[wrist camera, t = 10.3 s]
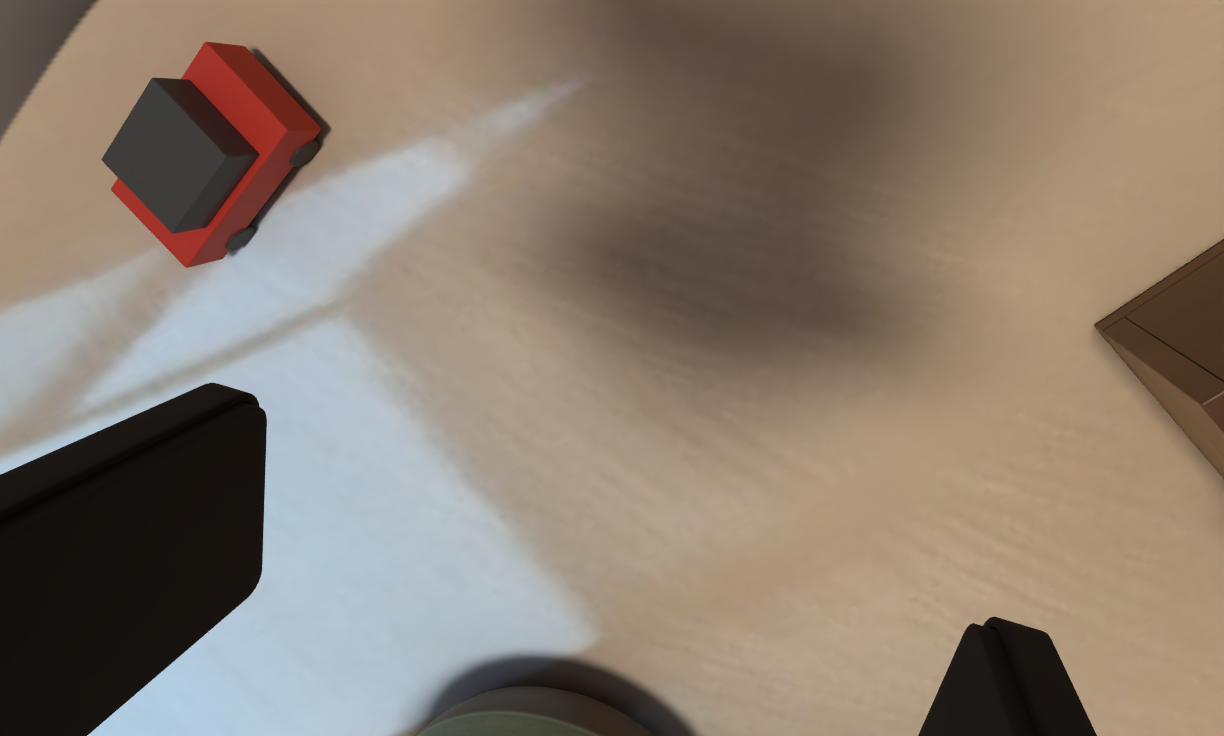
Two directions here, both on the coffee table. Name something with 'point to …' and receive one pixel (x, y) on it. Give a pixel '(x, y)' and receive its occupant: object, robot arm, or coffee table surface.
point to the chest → (1180, 348)
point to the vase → (532, 715)
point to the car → (208, 152)
